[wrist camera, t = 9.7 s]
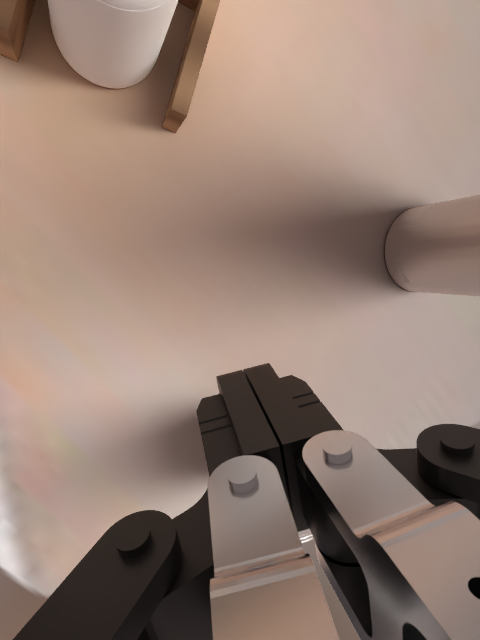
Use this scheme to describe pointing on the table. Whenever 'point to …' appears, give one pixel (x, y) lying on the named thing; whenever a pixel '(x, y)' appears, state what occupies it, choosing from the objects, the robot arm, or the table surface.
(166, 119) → the holder
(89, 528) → the table surface
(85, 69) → the pill bottle
